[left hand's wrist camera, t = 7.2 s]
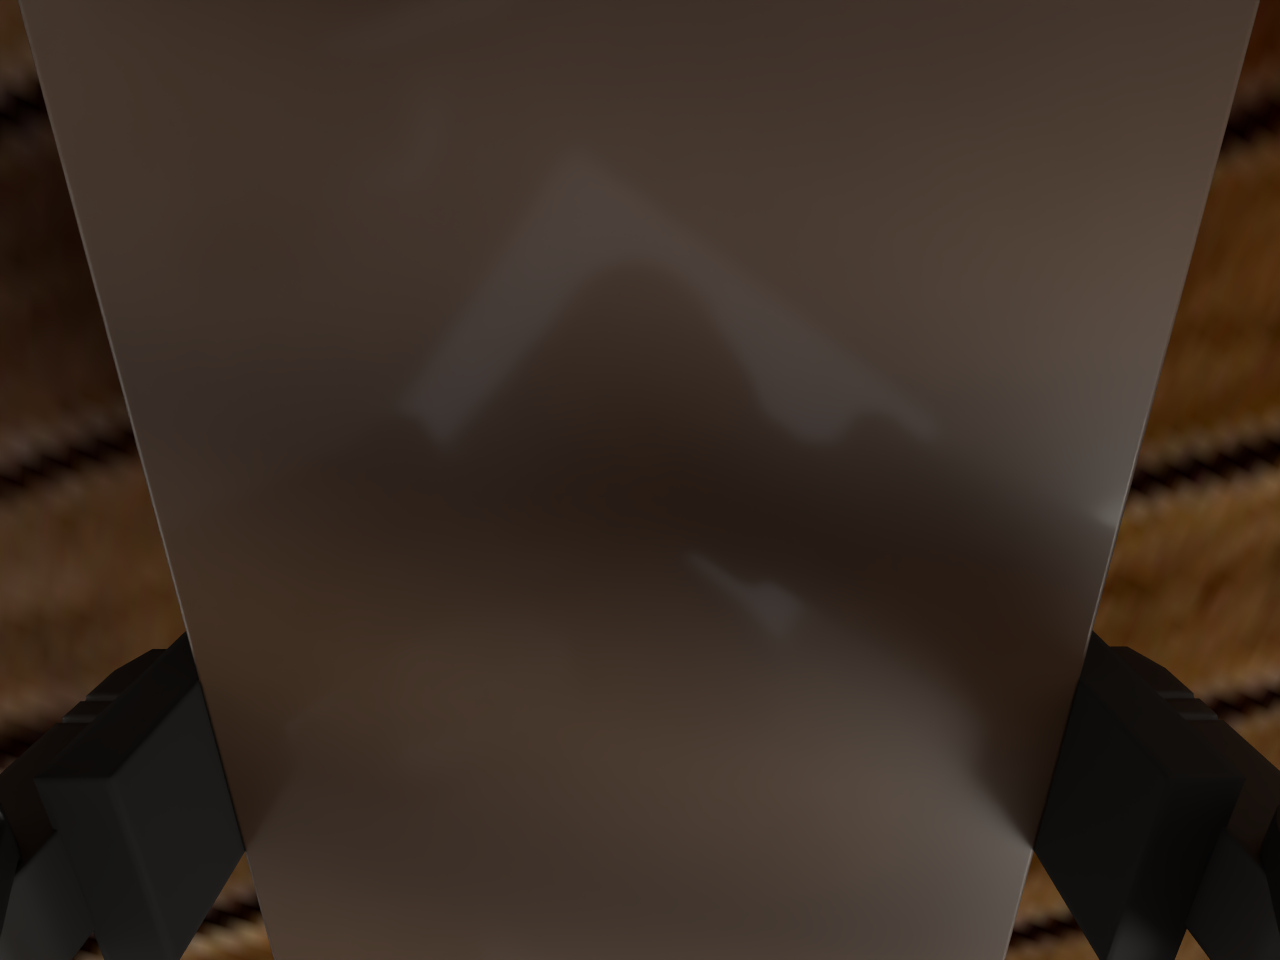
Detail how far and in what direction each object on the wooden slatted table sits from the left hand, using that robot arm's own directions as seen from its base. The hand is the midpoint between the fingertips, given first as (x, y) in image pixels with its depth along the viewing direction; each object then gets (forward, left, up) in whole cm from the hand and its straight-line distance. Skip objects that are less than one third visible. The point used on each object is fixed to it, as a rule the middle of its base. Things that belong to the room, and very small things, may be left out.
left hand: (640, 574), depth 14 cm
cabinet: (+1, +4, -7) cm, 8 cm away
